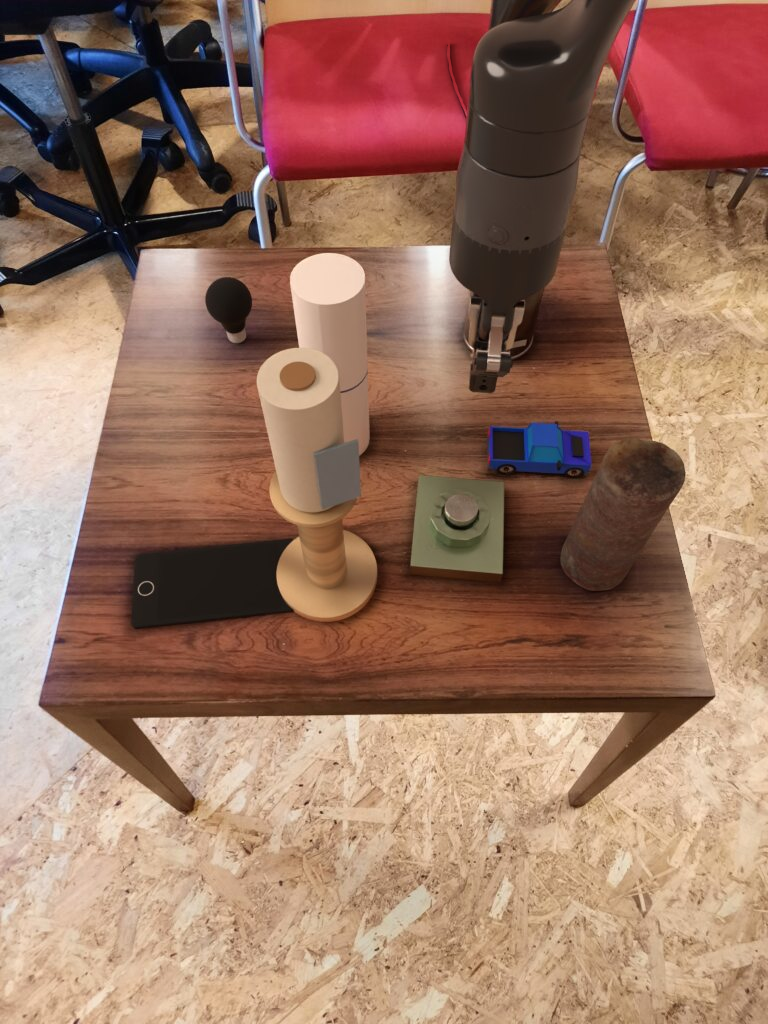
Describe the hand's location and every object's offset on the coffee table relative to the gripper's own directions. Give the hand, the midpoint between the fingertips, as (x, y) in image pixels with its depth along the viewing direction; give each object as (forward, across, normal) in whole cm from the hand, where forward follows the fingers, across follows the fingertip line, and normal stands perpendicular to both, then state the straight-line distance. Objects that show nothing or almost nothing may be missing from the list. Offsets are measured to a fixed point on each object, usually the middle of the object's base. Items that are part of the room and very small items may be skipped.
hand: (481, 385), depth 63 cm
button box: (+25, 0, 0) cm, 25 cm away
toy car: (+25, +11, -9) cm, 29 cm away
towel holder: (+25, -7, +14) cm, 29 cm away
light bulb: (+25, +27, +31) cm, 48 cm away
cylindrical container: (+25, +12, +15) cm, 32 cm away
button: (+21, 0, 0) cm, 21 cm away
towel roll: (+7, -7, +14) cm, 17 cm away
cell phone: (+26, -9, +26) cm, 38 cm away
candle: (+25, -3, -15) cm, 29 cm away
